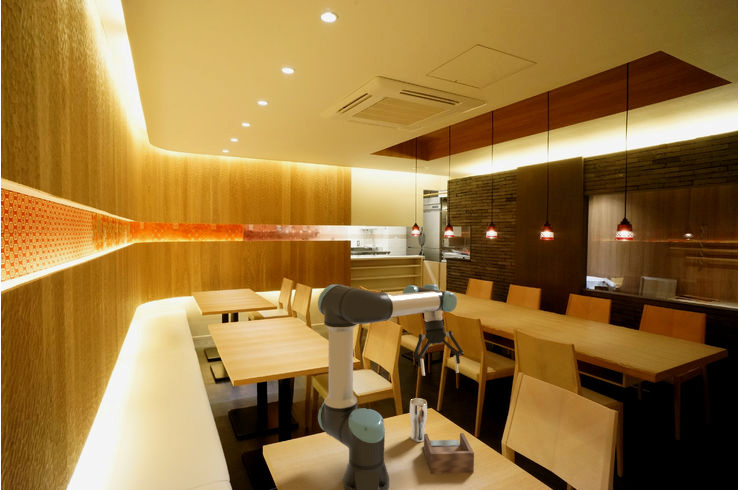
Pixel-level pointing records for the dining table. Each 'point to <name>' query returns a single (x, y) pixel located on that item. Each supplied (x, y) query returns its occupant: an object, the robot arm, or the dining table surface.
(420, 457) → the dining table surface
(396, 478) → the dining table surface
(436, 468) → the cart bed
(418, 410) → the beer glass
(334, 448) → the dining table surface
